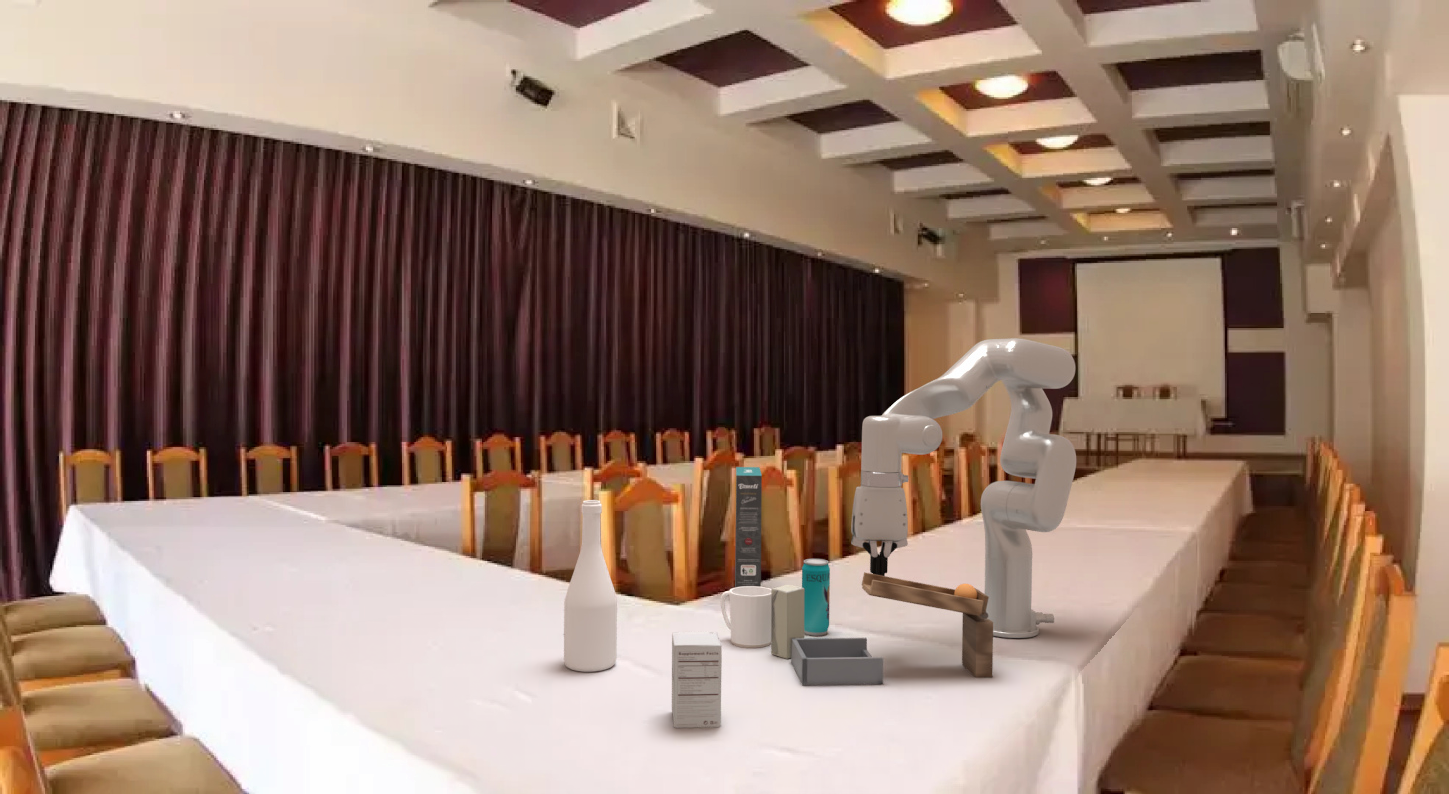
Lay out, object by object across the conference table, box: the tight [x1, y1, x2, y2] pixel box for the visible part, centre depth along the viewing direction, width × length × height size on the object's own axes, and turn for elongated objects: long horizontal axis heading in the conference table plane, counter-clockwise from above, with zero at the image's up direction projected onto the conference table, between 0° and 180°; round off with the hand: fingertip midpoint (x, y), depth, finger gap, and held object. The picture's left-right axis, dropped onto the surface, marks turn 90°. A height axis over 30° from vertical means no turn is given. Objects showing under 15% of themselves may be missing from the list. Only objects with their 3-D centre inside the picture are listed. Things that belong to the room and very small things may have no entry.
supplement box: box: [671, 631, 723, 729], centre depth 142 cm, size 7×7×13 cm
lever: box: [861, 572, 989, 619], centre depth 171 cm, size 22×16×4 cm
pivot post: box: [961, 613, 994, 679], centre depth 168 cm, size 3×8×12 cm, turn 4°
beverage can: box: [801, 558, 831, 637], centre depth 192 cm, size 6×6×15 cm
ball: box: [954, 583, 977, 599], centre depth 167 cm, size 4×4×4 cm
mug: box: [719, 586, 772, 649], centre depth 185 cm, size 11×9×10 cm
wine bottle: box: [563, 499, 618, 673], centre depth 168 cm, size 10×10×30 cm
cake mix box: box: [734, 466, 763, 588], centre depth 229 cm, size 22×6×30 cm, turn 179°
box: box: [770, 584, 805, 660], centre depth 176 cm, size 5×4×13 cm
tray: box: [790, 637, 884, 686], centre depth 165 cm, size 14×13×4 cm
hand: (878, 576), depth 176 cm, fingers closed
